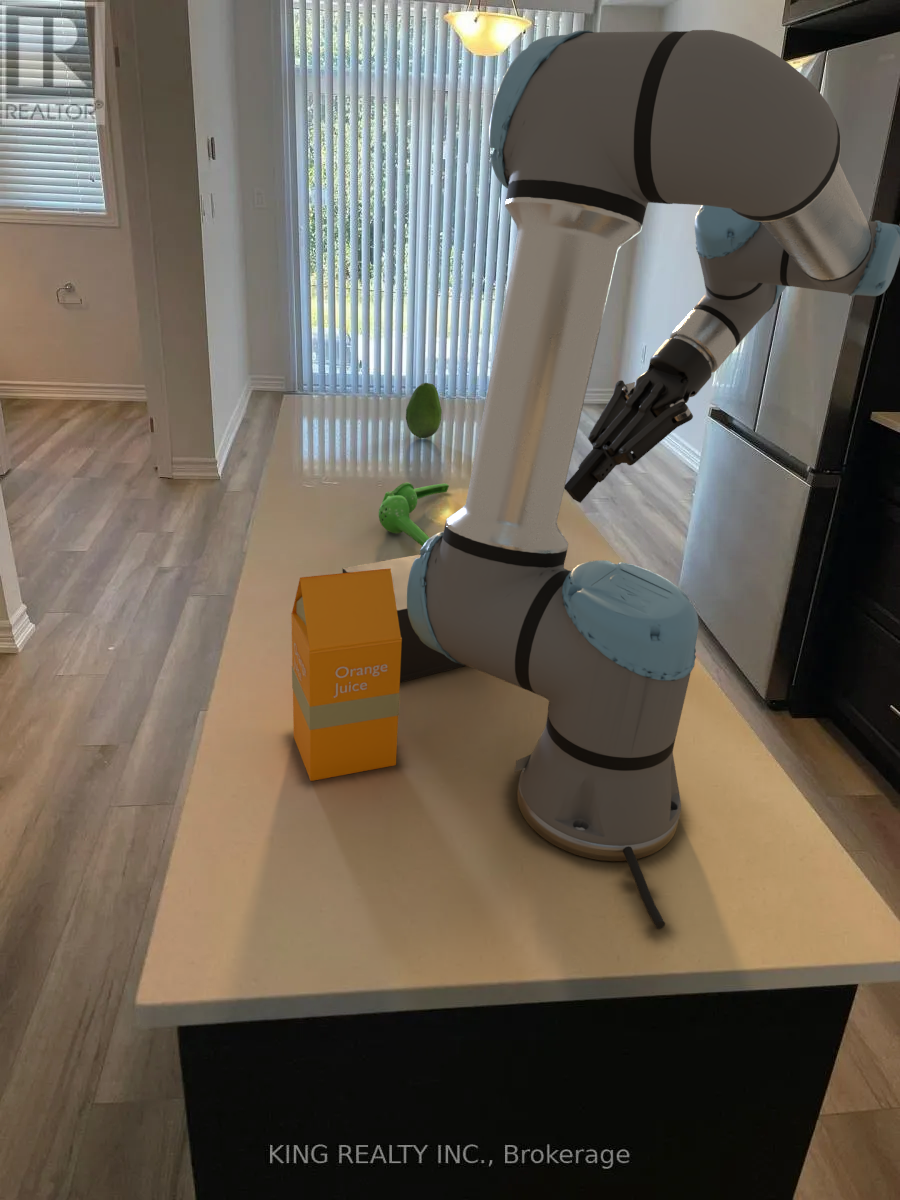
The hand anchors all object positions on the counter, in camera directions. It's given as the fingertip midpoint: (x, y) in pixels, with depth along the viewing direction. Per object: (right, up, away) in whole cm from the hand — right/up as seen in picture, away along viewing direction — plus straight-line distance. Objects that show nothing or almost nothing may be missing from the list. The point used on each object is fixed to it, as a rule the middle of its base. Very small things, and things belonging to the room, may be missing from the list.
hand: (572, 494), depth 110 cm
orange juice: (-26, -29, -22) cm, 45 cm away
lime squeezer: (-21, -1, +34) cm, 40 cm away
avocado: (-21, +28, +78) cm, 85 cm away
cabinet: (-20, -19, -3) cm, 28 cm away
